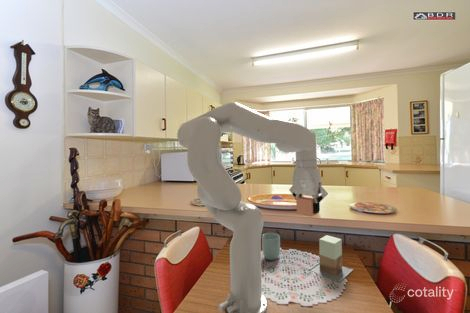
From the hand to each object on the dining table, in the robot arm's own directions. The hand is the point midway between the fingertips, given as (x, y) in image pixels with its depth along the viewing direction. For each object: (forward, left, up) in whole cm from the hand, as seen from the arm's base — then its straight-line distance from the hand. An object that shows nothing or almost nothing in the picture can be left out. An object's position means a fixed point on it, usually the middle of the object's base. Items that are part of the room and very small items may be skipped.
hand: (308, 210), depth 85 cm
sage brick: (+7, -5, -17) cm, 20 cm away
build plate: (+7, -5, -24) cm, 26 cm away
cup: (-1, +18, -24) cm, 30 cm away
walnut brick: (+7, -5, -23) cm, 25 cm away
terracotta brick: (0, 0, -1) cm, 1 cm away
